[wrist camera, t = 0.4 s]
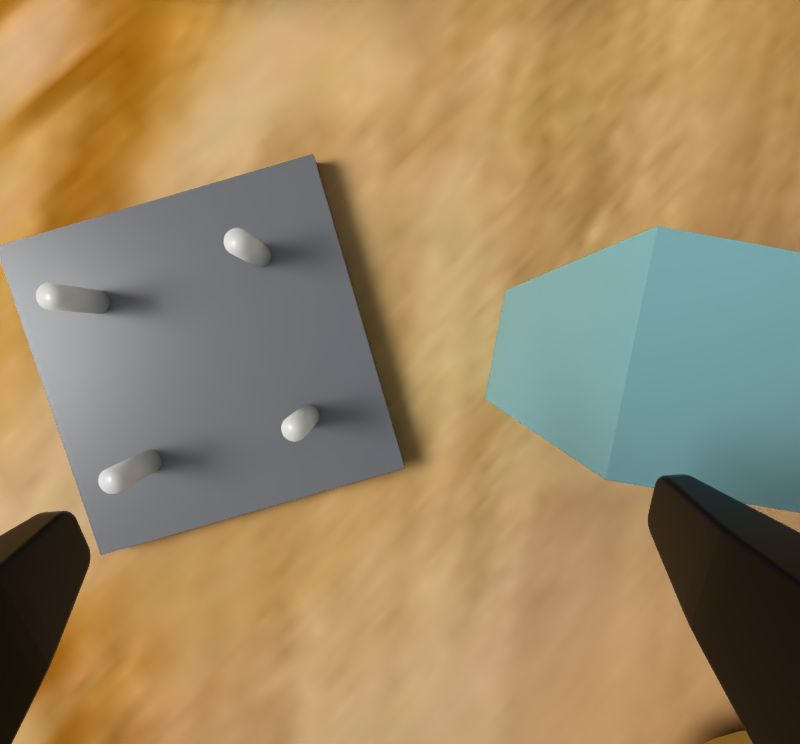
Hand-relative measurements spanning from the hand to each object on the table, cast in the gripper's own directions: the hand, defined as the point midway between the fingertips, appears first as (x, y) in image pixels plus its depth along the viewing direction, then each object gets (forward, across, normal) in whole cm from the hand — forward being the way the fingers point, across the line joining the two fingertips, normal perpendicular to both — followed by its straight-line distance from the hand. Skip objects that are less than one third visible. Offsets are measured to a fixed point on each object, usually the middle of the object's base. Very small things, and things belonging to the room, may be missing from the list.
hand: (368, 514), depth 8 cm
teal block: (+14, -8, +4) cm, 17 cm away
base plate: (+15, +8, +4) cm, 17 cm away
